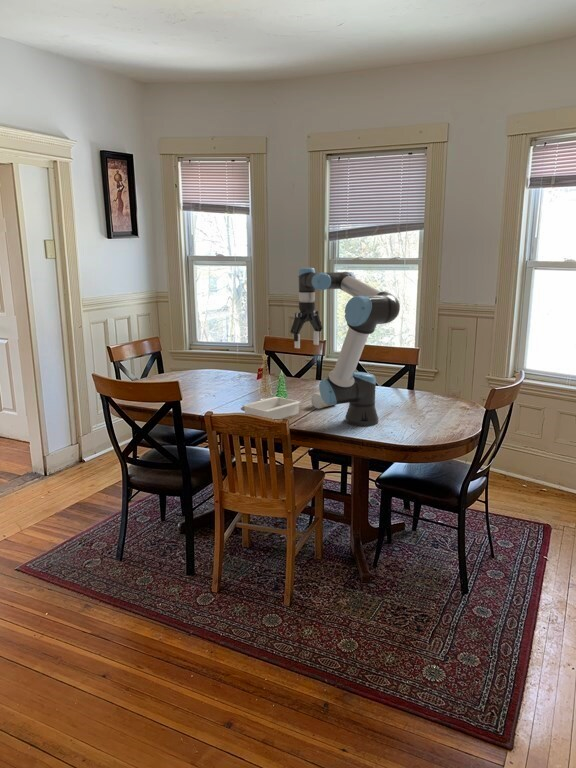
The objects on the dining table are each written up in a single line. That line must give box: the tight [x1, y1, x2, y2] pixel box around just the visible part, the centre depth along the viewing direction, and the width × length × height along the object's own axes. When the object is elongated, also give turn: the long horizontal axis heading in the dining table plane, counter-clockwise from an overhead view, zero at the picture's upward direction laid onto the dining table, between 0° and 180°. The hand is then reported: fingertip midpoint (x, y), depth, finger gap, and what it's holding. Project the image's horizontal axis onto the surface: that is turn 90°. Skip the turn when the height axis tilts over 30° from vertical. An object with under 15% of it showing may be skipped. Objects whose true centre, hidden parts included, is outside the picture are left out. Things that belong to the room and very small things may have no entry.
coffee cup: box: [310, 391, 332, 409], centre depth 287 cm, size 9×9×12 cm
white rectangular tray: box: [241, 396, 303, 420], centre depth 271 cm, size 23×17×6 cm
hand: (306, 346), depth 273 cm, fingers open, 13 cm apart
